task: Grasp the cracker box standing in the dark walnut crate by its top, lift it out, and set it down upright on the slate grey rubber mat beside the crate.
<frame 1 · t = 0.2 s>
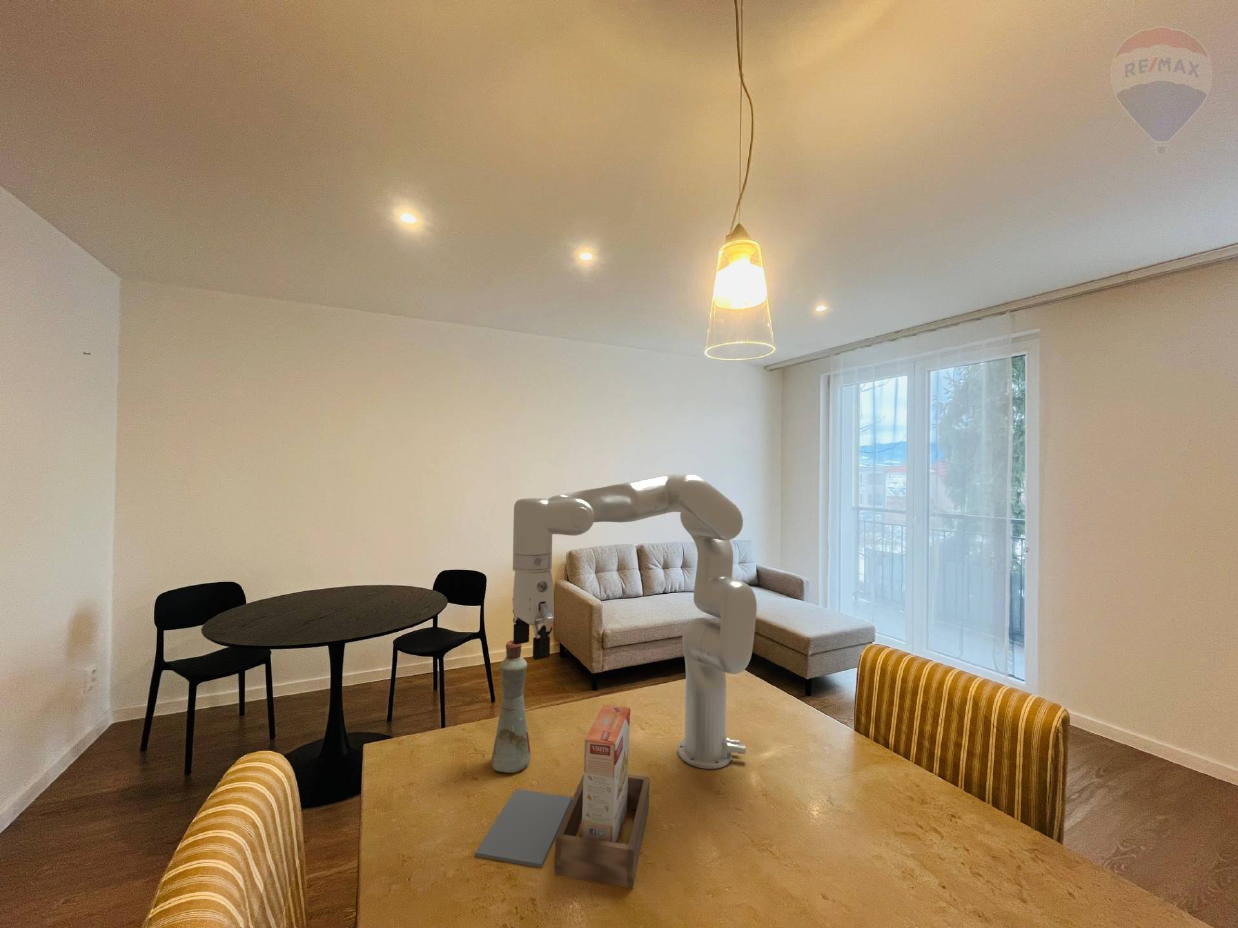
hand: (530, 650, 97), 31 cm above the table, tool pointing down, fingers open, 9 cm apart
walnut crate: (606, 838, 91), on the table
bottle: (510, 765, 113), on the table
cracker box: (606, 839, 91), resting in walnut crate
slate mat: (527, 825, 93), on the table
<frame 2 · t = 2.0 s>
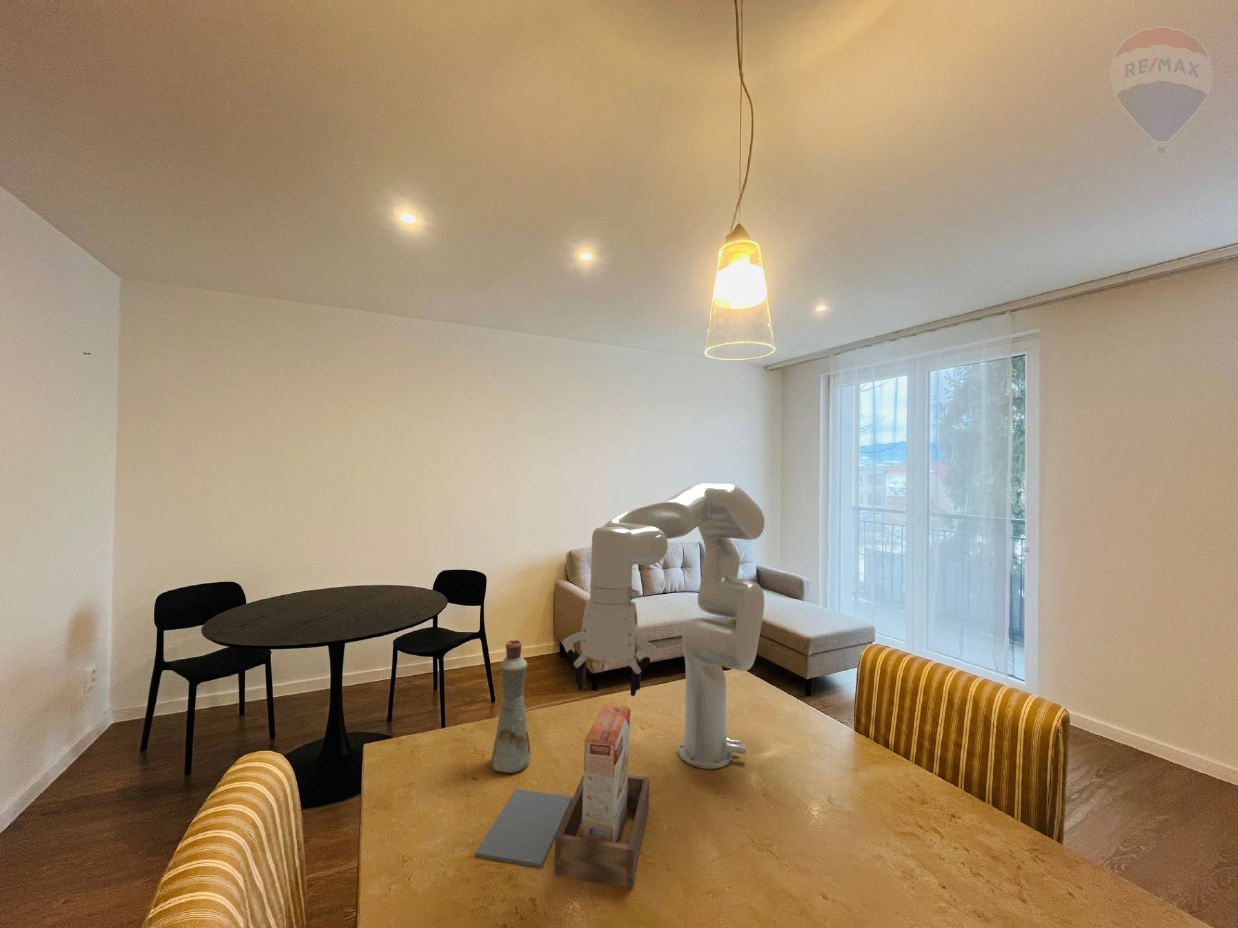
hand: (607, 690, 91), 27 cm above the table, tool pointing down, fingers open, 9 cm apart
nothing on the table moved.
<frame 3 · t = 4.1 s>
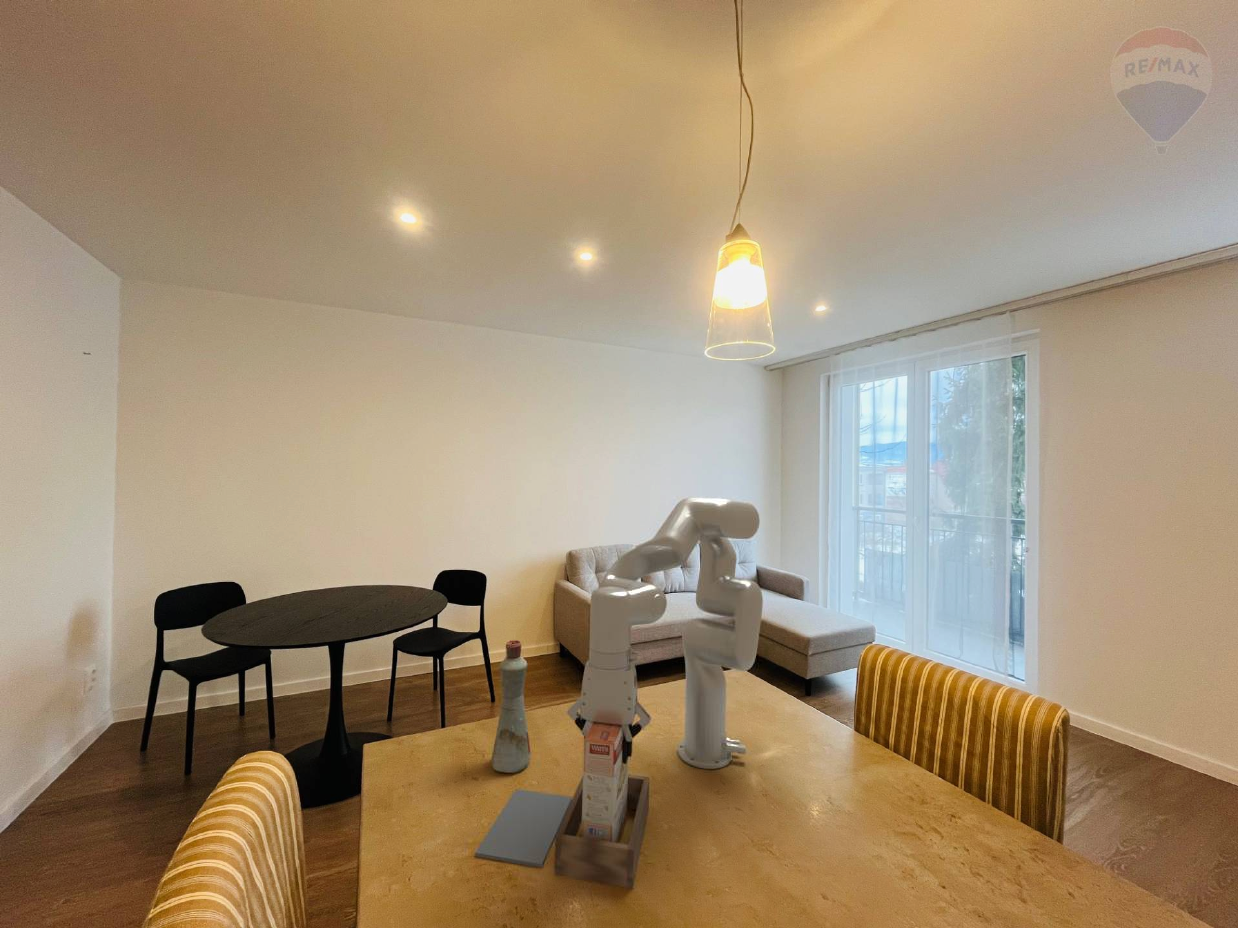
hand: (607, 756, 91), 15 cm above the table, tool pointing down, fingers closed on cracker box, 5 cm apart
cracker box: (606, 839, 91), resting in walnut crate, touching gripper
everything else where it was.
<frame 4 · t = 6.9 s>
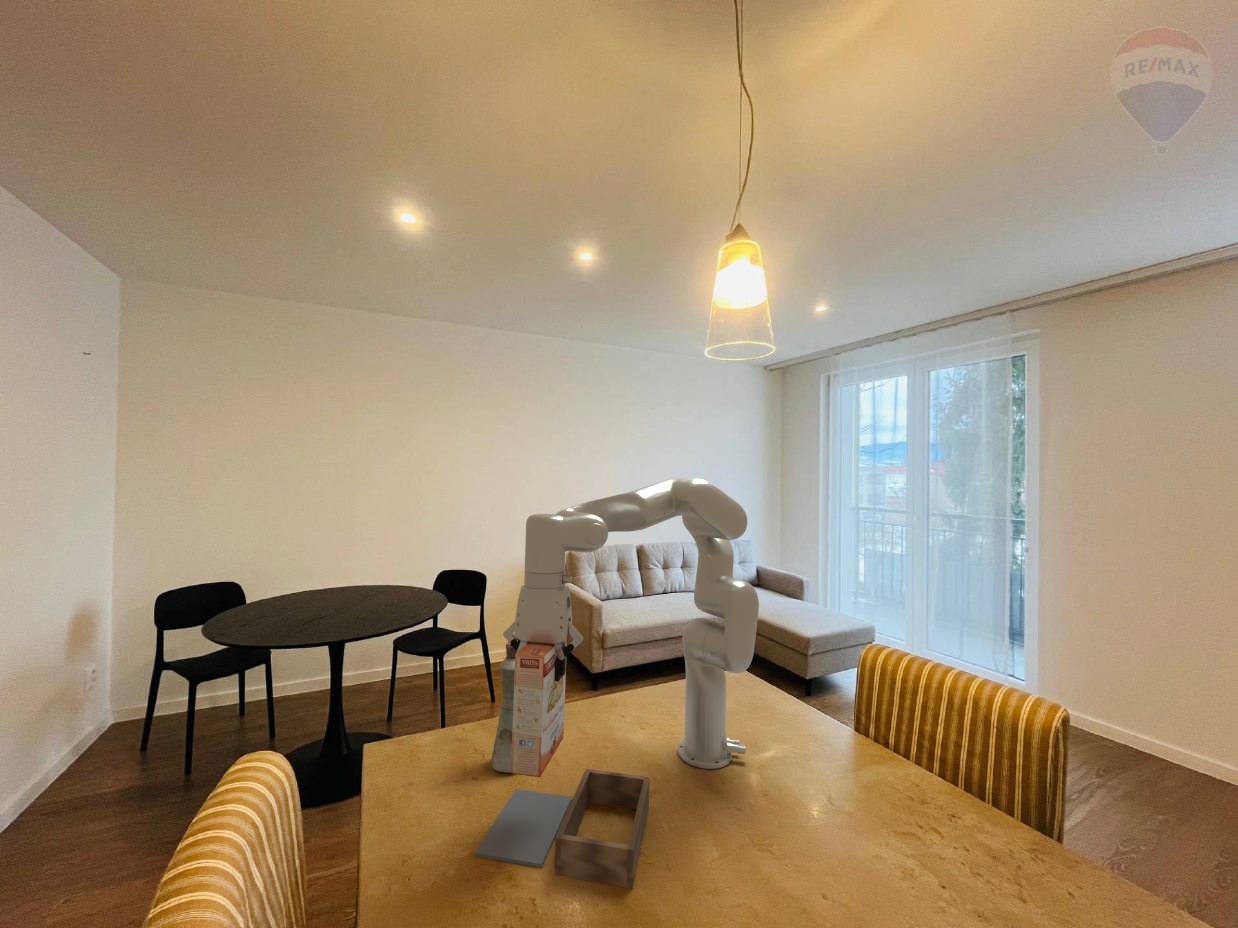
hand: (541, 676, 94), 28 cm above the table, tool pointing down, fingers closed on cracker box, 5 cm apart
cracker box: (539, 756, 93), point 13 cm above the table, touching gripper
everything else where it was.
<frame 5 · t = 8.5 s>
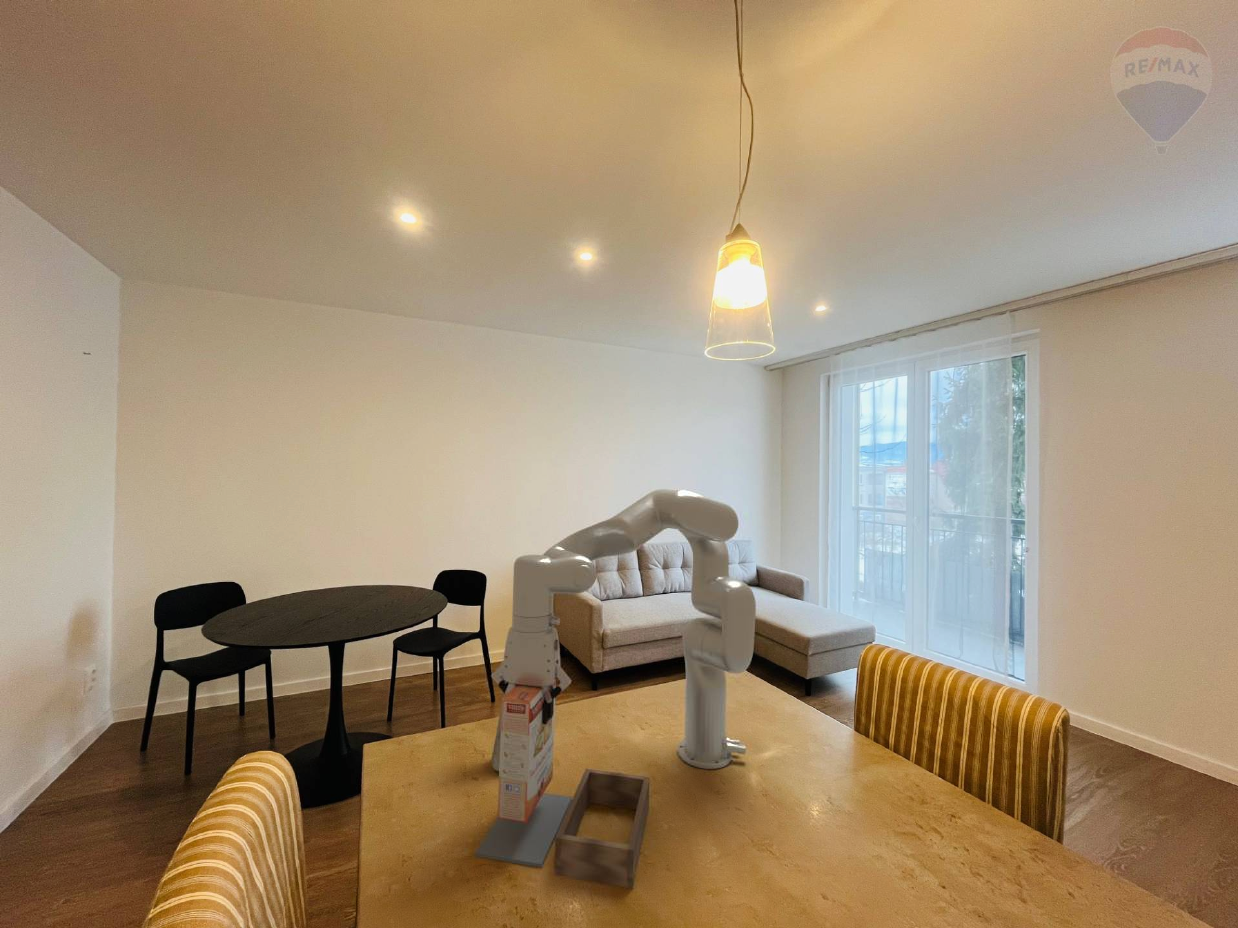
hand: (529, 717, 94), 20 cm above the table, tool pointing down, fingers closed on cracker box, 5 cm apart
cracker box: (527, 798, 93), point 5 cm above the table, touching gripper
everything else where it was.
when the fingers open (16 cm above the table, at t = 9.6 s): cracker box drops 1 cm, resting on slate mat.
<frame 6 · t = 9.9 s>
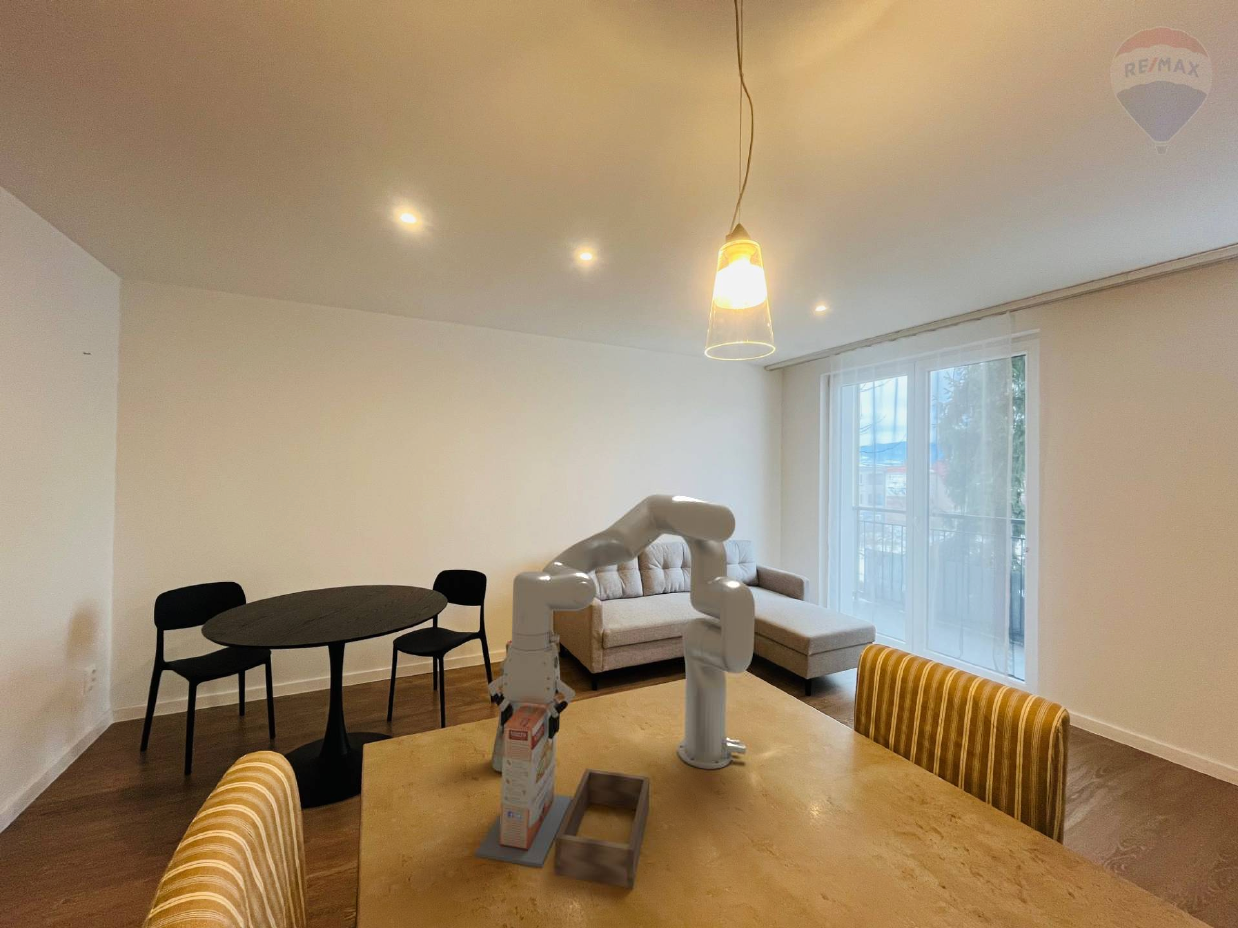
hand: (529, 732, 94), 17 cm above the table, tool pointing down, fingers open, 8 cm apart
cracker box: (529, 823, 94), resting on slate mat
everything else where it was.
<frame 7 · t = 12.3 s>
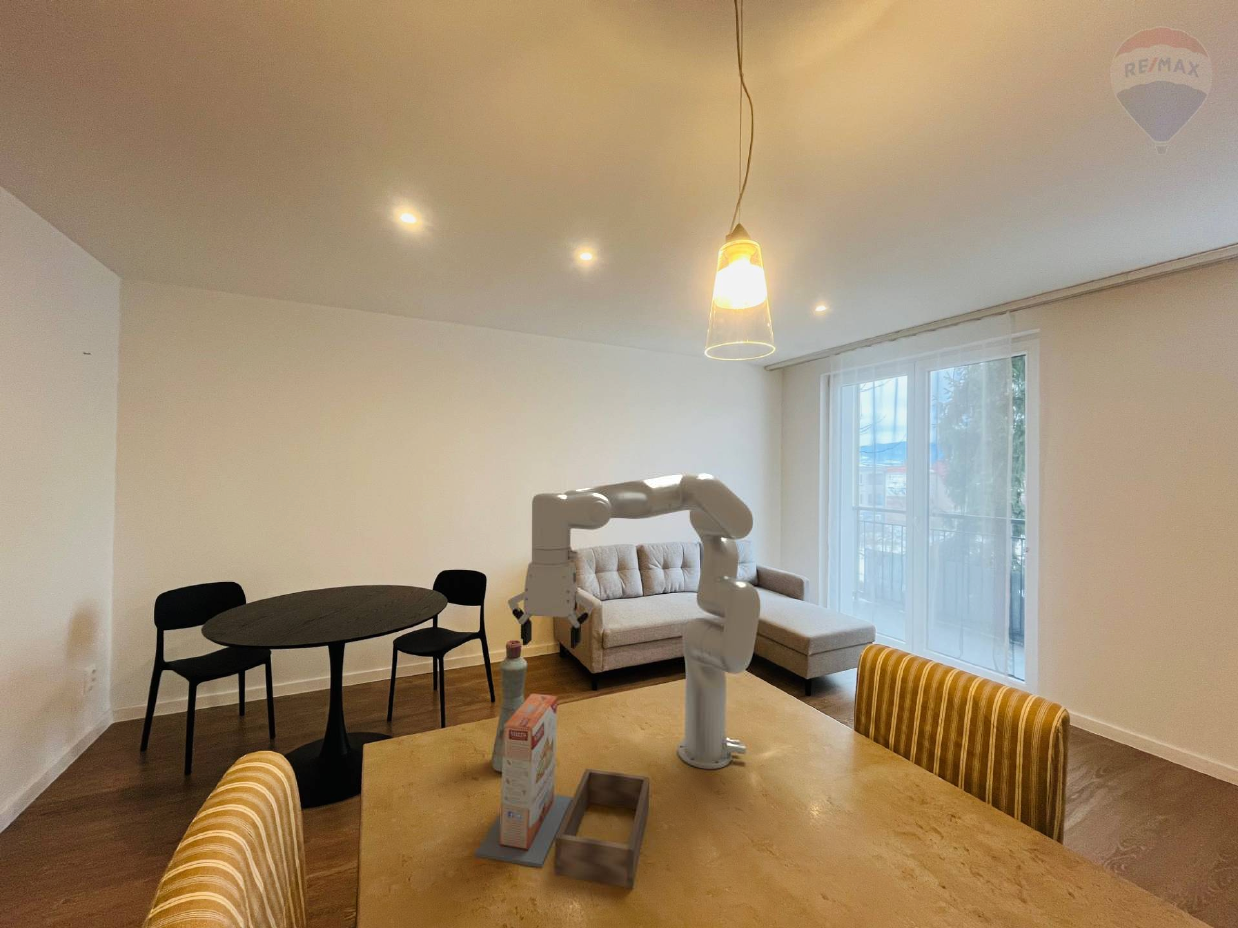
hand: (550, 644, 98), 32 cm above the table, tool pointing down, fingers open, 9 cm apart
nothing on the table moved.
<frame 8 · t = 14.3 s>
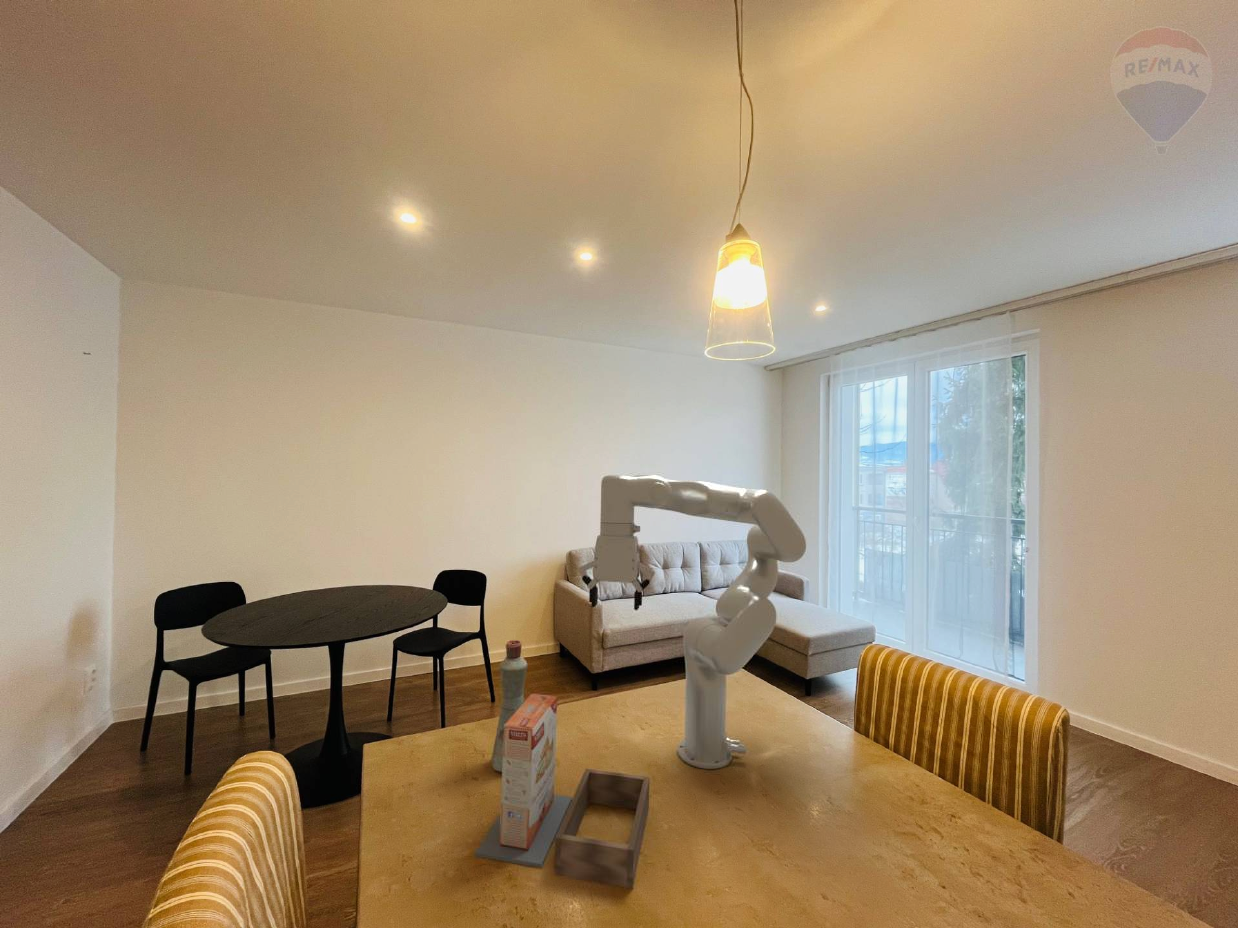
hand: (615, 607, 112), 36 cm above the table, tool pointing down, fingers open, 9 cm apart
nothing on the table moved.
at the end: cracker box inside the target area on the slate mat (0.4 cm from its centre), point 0.4 cm above the slate mat's base; cracker box tilted 0°; the gripper is holding nothing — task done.
